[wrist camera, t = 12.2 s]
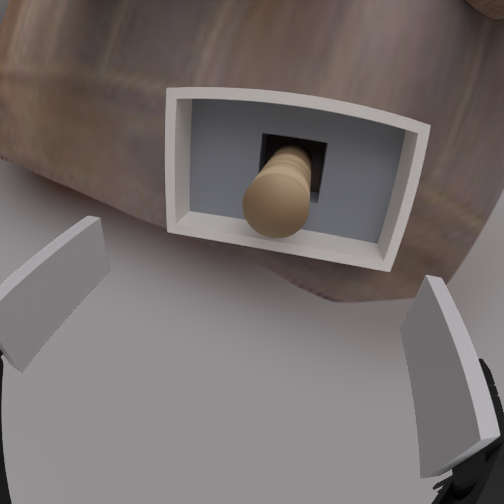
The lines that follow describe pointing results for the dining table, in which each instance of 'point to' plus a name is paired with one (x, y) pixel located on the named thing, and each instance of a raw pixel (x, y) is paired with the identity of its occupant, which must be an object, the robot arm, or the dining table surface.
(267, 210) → the dowel
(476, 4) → the planter
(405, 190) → the box
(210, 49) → the dining table surface
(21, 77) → the dining table surface
